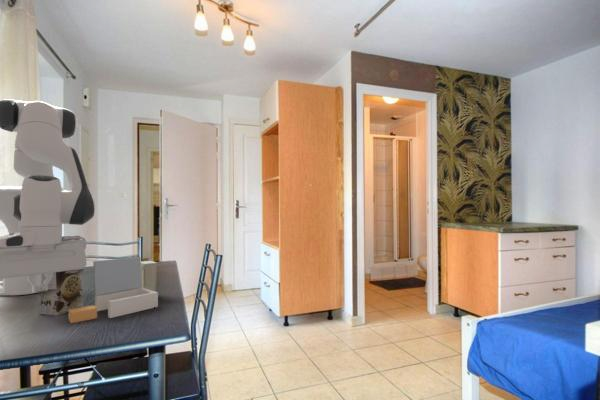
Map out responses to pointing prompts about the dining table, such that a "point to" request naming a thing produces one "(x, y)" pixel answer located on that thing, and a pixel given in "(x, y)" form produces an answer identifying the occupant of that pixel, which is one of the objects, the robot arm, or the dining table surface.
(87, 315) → the tan cardboard brick
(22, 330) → the dining table surface
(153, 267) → the skincare box
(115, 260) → the lid
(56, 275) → the coffee box
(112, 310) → the open tray
